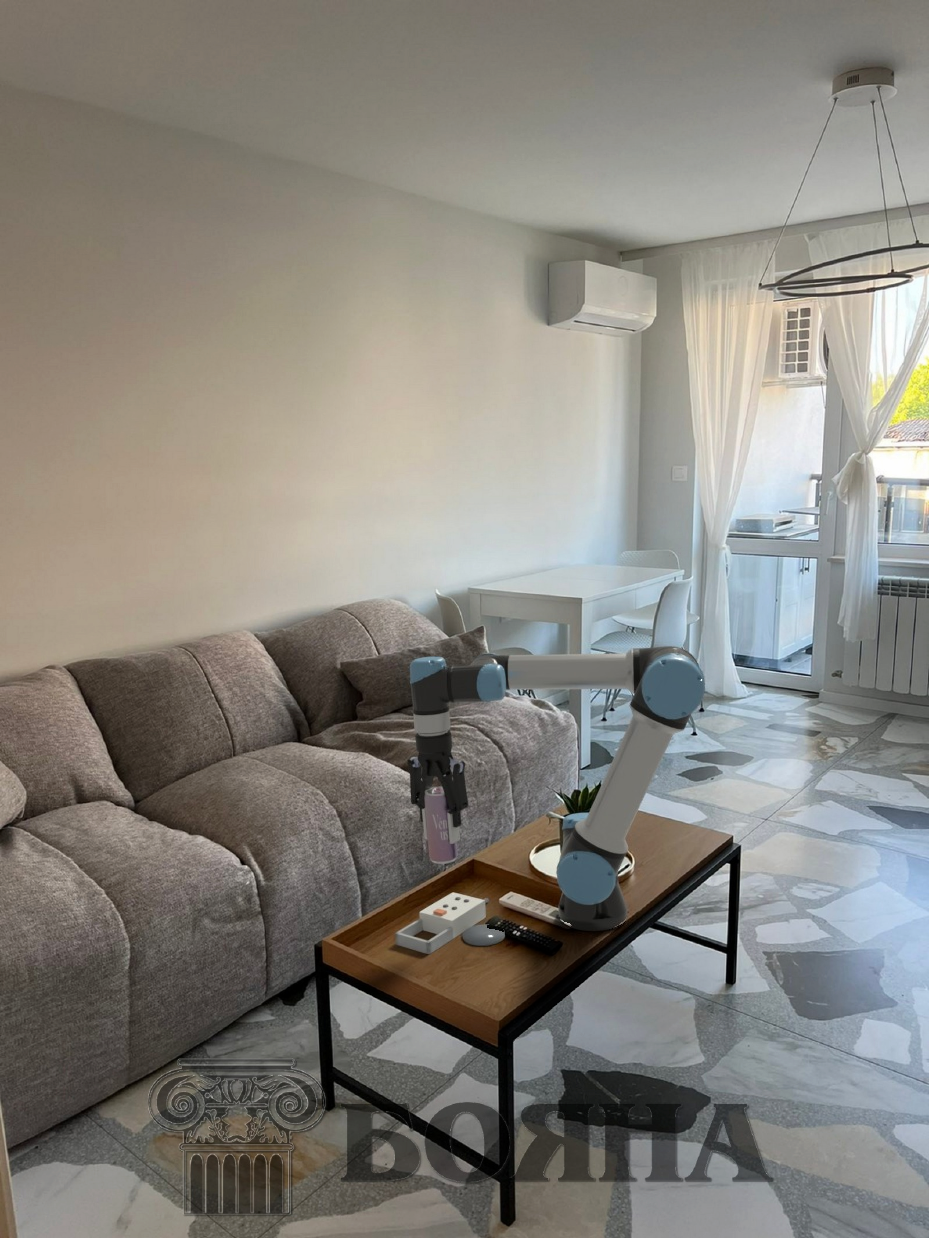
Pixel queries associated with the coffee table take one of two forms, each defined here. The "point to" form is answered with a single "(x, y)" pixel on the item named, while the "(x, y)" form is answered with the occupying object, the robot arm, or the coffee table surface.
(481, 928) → the coaster
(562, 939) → the coffee table surface
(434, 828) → the beverage can
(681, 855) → the coffee table surface
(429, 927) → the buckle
